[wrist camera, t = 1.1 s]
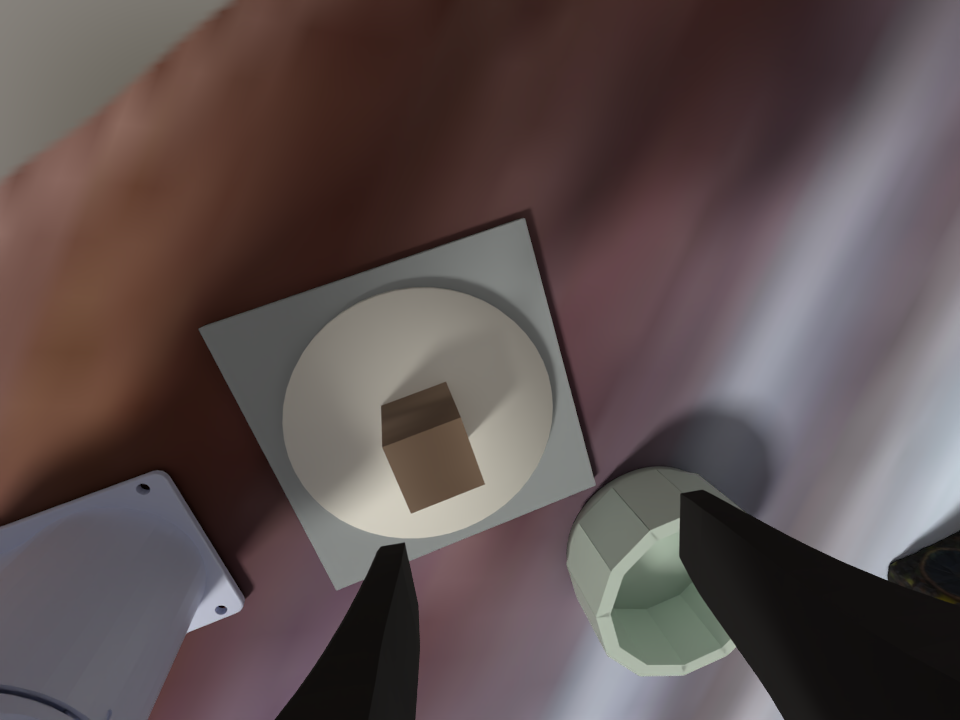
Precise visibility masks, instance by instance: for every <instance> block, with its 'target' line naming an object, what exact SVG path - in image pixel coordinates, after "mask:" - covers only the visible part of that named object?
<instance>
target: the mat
mask: <svg viewBox="0 0 960 720" xmlns="http://www.w3.org/2000/svg"><path fill="white" fill-rule="evenodd" d="M409 287H437V288H445V289H451V290H455V291H459V292H463V293H467V294H469V295H471V296H474V297H476V298H479V299H481V300H483V301H485V302H487V303H489V304H490V305H492V306H494V307H496V308H497V309H499V310H500V311H501V312H503V313H504V314H505V315H506V316H508V317H509V318H510V319H512V320H513V321H514V322H515V323H516V324H517V325H518V326H519V327H520V328H521V329H522V330H523V331H524V332H525V333H526V334H527V336H528V337H529V338H530V340H531V341H532V343H533V344H534V345H535V347H536V348H537V350H538V352H539V354H540V356H541V358H542V360H543V362H544V365H545V367H546V370H547V373H548V376H549V380H550V385H551V390H552V401H553V413H552V424H551V429H550V434H549V439H548V441H547V444H546V447H545V450H544V453H543V455H542V457H541V459H540V461H539V463H538V465H537V467H536V469H535V470H534V472H533V473H532V475H531V477H530V478H529V480H528V481H527V482H526V483H525V485H524V486H523V487H522V488H521V489H520V491H519V492H518V493H517V494H516V495H515V496H514V497H513V498H512V499H511V500H510V501H508V502H507V503H506V504H505V505H504V506H502V507H501V508H500V509H498V510H497V511H496V512H495V513H493V514H491V515H490V516H488V517H486V518H485V519H483V520H481V521H479V522H477V523H475V524H473V525H471V526H469V527H467V528H464V529H461V530H458V531H455V532H452V533H449V534H444V535H440V536H435V537H427V538H394V537H386V536H381V535H377V534H373V533H369V532H366V531H364V530H361V529H358V528H356V527H353V526H351V525H349V524H347V523H345V522H344V521H342V520H340V519H338V518H337V517H335V516H334V515H332V514H331V513H330V512H328V511H327V510H325V509H324V508H323V507H322V506H321V505H320V504H319V503H318V502H317V501H316V500H315V499H314V498H313V497H312V496H311V495H310V494H309V492H308V491H307V490H306V489H305V488H304V486H303V485H302V483H301V481H300V480H299V478H298V477H297V475H296V473H295V471H294V469H293V467H292V464H291V462H290V460H289V457H288V454H287V450H286V446H285V442H284V435H283V425H282V419H283V404H284V399H285V394H286V389H287V386H288V383H289V381H290V378H291V375H292V372H293V370H294V368H295V366H296V364H297V363H298V361H299V359H300V357H301V355H302V353H303V351H304V350H305V349H306V347H307V346H308V345H309V343H310V342H311V340H312V339H313V338H314V336H315V335H316V334H317V333H318V332H319V331H320V330H321V329H322V328H323V327H324V326H325V325H326V324H327V323H328V322H329V321H331V320H332V319H333V318H335V317H336V316H337V315H338V314H340V313H341V312H342V311H344V310H346V309H347V308H349V307H351V306H352V305H354V304H356V303H358V302H360V301H362V300H364V299H367V298H369V297H371V296H374V295H376V294H380V293H384V292H387V291H391V290H395V289H402V288H409ZM199 331H200V333H201V335H202V337H203V339H204V341H205V343H206V345H207V346H208V348H209V350H210V352H211V354H212V356H213V358H214V360H215V362H216V363H217V365H218V367H219V369H220V371H221V373H222V375H223V377H224V379H225V380H226V382H227V384H228V386H229V388H230V390H231V392H232V394H233V396H234V398H235V399H236V401H237V403H238V405H239V407H240V409H241V411H242V413H243V415H244V416H245V418H246V420H247V422H248V424H249V426H250V428H251V430H252V432H253V433H254V435H255V437H256V439H257V441H258V443H259V445H260V447H261V449H262V451H263V452H264V454H265V456H266V458H267V460H268V462H269V464H270V466H271V468H272V469H273V471H274V473H275V475H276V477H277V479H278V481H279V483H280V485H281V486H282V488H283V490H284V492H285V494H286V496H287V498H288V500H289V502H290V503H291V505H292V507H293V509H294V511H295V513H296V515H297V517H298V519H299V521H300V522H301V524H302V526H303V528H304V530H305V532H306V534H307V536H308V538H309V539H310V541H311V543H312V545H313V547H314V549H315V551H316V553H317V555H318V556H319V558H320V560H321V562H322V564H323V566H324V568H325V570H326V572H327V574H328V575H329V577H330V579H331V581H332V583H333V585H334V587H335V589H336V591H337V590H339V589H342V588H344V587H346V586H349V585H351V584H354V583H356V582H359V581H361V580H364V579H365V577H366V575H367V573H368V571H369V568H370V566H371V564H372V562H373V560H374V557H375V555H376V552H377V551H378V549H379V548H380V547H381V546H386V545H392V544H398V543H403V542H405V545H406V550H407V554H408V559H409V561H411V560H413V559H415V558H418V557H420V556H423V555H425V554H428V553H430V552H433V551H435V550H438V549H440V548H443V547H445V546H447V545H450V544H452V543H455V542H457V541H460V540H462V539H465V538H467V537H470V536H472V535H475V534H477V533H479V532H482V531H484V530H487V529H489V528H492V527H494V526H497V525H499V524H502V523H504V522H507V521H509V520H512V519H514V518H516V517H519V516H521V515H524V514H526V513H529V512H531V511H534V510H536V509H539V508H541V507H544V506H546V505H548V504H551V503H553V502H556V501H558V500H561V499H563V498H566V497H568V496H571V495H573V494H576V493H578V492H580V491H583V490H585V489H588V488H590V487H593V486H595V485H596V484H595V481H594V477H593V473H592V469H591V466H590V462H589V458H588V454H587V450H586V447H585V443H584V439H583V435H582V432H581V428H580V424H579V420H578V417H577V413H576V409H575V405H574V402H573V398H572V394H571V390H570V386H569V383H568V379H567V375H566V371H565V368H564V364H563V360H562V356H561V353H560V349H559V345H558V341H557V337H556V334H555V330H554V326H553V322H552V319H551V315H550V311H549V307H548V304H547V300H546V296H545V292H544V289H543V285H542V281H541V277H540V273H539V270H538V266H537V262H536V258H535V255H534V251H533V247H532V243H531V240H530V236H529V232H528V228H527V225H526V221H525V218H520V219H517V220H514V221H511V222H508V223H505V224H502V225H499V226H497V227H494V228H491V229H488V230H485V231H482V232H479V233H476V234H473V235H470V236H467V237H464V238H461V239H458V240H455V241H452V242H449V243H446V244H443V245H441V246H438V247H435V248H432V249H429V250H426V251H423V252H420V253H417V254H414V255H411V256H408V257H405V258H402V259H399V260H396V261H393V262H390V263H387V264H385V265H382V266H379V267H376V268H373V269H370V270H367V271H364V272H361V273H358V274H355V275H352V276H349V277H346V278H343V279H340V280H337V281H334V282H332V283H329V284H326V285H323V286H320V287H317V288H314V289H311V290H308V291H305V292H302V293H299V294H296V295H293V296H290V297H287V298H284V299H281V300H278V301H276V302H273V303H270V304H267V305H264V306H261V307H258V308H255V309H252V310H249V311H246V312H243V313H240V314H237V315H234V316H231V317H228V318H225V319H222V320H220V321H217V322H214V323H211V324H208V325H205V326H202V327H201V328H199Z"/></svg>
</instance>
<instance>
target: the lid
mask: <svg viewBox="0 0 960 720" xmlns="http://www.w3.org/2000/svg"><path fill="white" fill-rule="evenodd" d="M552 413H553V401H552V390H551V385H550V380H549V376H548V373H547V370H546V367H545V365H544V362H543V360H542V358H541V356H540V354H539V352H538V350H537V348H536V347H535V345H534V344H533V343H532V341H531V340H530V338H529V337H528V336H527V334H526V333H525V332H524V331H523V330H522V329H521V328H520V327H519V326H518V325H517V324H516V323H515V322H514V321H513V320H512V319H510V318H509V317H508V316H506V315H505V314H504V313H503V312H501V311H500V310H499V309H497V308H496V307H494V306H492V305H490V304H489V303H487V302H485V301H483V300H481V299H479V298H476V297H474V296H471V295H469V294H467V293H463V292H459V291H455V290H451V289H445V288H437V287H409V288H402V289H395V290H391V291H387V292H384V293H380V294H376V295H374V296H371V297H369V298H367V299H364V300H362V301H360V302H358V303H356V304H354V305H352V306H351V307H349V308H347V309H346V310H344V311H342V312H341V313H340V314H338V315H337V316H336V317H335V318H333V319H332V320H331V321H329V322H328V323H327V324H326V325H325V326H324V327H323V328H322V329H321V330H320V331H319V332H318V333H317V334H316V335H315V336H314V338H313V339H312V340H311V342H310V343H309V345H308V346H307V347H306V349H305V350H304V351H303V353H302V355H301V357H300V359H299V361H298V363H297V364H296V366H295V368H294V370H293V372H292V375H291V378H290V381H289V383H288V386H287V389H286V394H285V399H284V404H283V419H282V425H283V435H284V442H285V446H286V450H287V454H288V457H289V460H290V462H291V464H292V467H293V469H294V471H295V473H296V475H297V477H298V478H299V480H300V481H301V483H302V485H303V486H304V488H305V489H306V490H307V491H308V492H309V494H310V495H311V496H312V497H313V498H314V499H315V500H316V501H317V502H318V503H319V504H320V505H321V506H322V507H323V508H324V509H325V510H327V511H328V512H330V513H331V514H332V515H334V516H335V517H337V518H338V519H340V520H342V521H344V522H345V523H347V524H349V525H351V526H353V527H356V528H358V529H361V530H364V531H366V532H369V533H373V534H377V535H381V536H386V537H394V538H427V537H435V536H440V535H444V534H449V533H452V532H455V531H458V530H461V529H464V528H467V527H469V526H471V525H473V524H475V523H477V522H479V521H481V520H483V519H485V518H486V517H488V516H490V515H491V514H493V513H495V512H496V511H497V510H498V509H500V508H501V507H502V506H504V505H505V504H506V503H507V502H508V501H510V500H511V499H512V498H513V497H514V496H515V495H516V494H517V493H518V492H519V491H520V489H521V488H522V487H523V486H524V485H525V483H526V482H527V481H528V480H529V478H530V477H531V475H532V473H533V472H534V470H535V469H536V467H537V465H538V463H539V461H540V459H541V457H542V455H543V453H544V450H545V447H546V444H547V441H548V439H549V434H550V429H551V424H552Z"/></svg>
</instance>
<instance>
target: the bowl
mask: <svg viewBox="0 0 960 720" xmlns="http://www.w3.org/2000/svg"><path fill="white" fill-rule="evenodd" d="M697 490H705V491H707V492H709V493H711V494H713V495H715V496H717V497H718V498H720V499H722V500H724V501H726V502H728V503H729V504H731V505H733V506H735V507H737V508H738V509H740V510H742V509H741V508H740V507H738V506H737V505H736V504H735V503H733V502H732V501H731V500H730V499H728V498H727V497H726V496H725V495H723V494H722V493H721V492H720V491H718V490H717V489H716V488H715V487H713V486H712V485H711V484H710V483H708V482H707V481H706V480H705V479H703V478H702V477H701V476H700V475H698V474H697V473H688V472H686V471H683V470H680V469H677V468H673V467H666V466H654V467H646V468H641V469H637V470H634V471H631V472H628V473H626V474H624V475H621V476H619V477H617V478H616V479H614V480H612V481H611V482H609V483H607V484H606V485H605V486H604V487H602V488H601V489H600V490H599V491H597V492H596V493H595V494H594V495H593V496H592V497H591V498H590V499H589V501H588V502H587V503H586V504H585V505H584V507H583V508H582V510H581V511H580V513H579V514H578V516H577V518H576V520H575V522H574V523H573V526H572V528H571V531H570V534H569V538H568V543H567V552H566V554H567V563H566V564H567V568H568V571H569V574H570V577H571V580H572V584H573V587H574V590H575V593H576V597H577V599H578V601H579V603H580V605H581V607H582V609H583V611H584V613H585V614H586V616H587V618H588V620H589V622H590V624H591V626H592V628H593V630H594V631H595V633H596V635H597V637H598V639H599V641H600V643H601V645H602V646H603V648H604V650H605V652H606V654H607V656H608V657H610V658H612V659H613V660H615V661H616V662H618V663H619V664H621V665H623V666H624V667H626V668H627V669H629V670H631V671H632V672H634V673H635V674H637V675H638V676H683V675H686V674H688V673H690V672H692V671H695V670H697V669H699V668H701V667H703V666H706V665H708V664H710V663H712V662H714V661H716V660H719V659H721V658H723V657H725V656H727V655H728V654H729V653H730V652H731V651H732V650H733V649H734V648H735V647H736V646H735V644H734V643H733V641H732V640H731V639H730V637H729V636H728V634H727V633H726V632H725V630H724V629H723V627H722V626H721V625H720V623H719V622H718V620H717V619H716V617H715V616H714V615H713V613H712V612H711V610H710V609H709V607H708V606H707V605H706V603H705V602H704V600H703V599H702V597H701V596H700V594H699V593H698V591H697V589H696V587H695V586H694V584H693V582H692V580H691V579H690V577H689V575H688V573H687V571H686V569H685V567H684V565H683V563H682V561H681V559H680V558H679V533H680V493H686V492H691V491H697ZM742 511H743V510H742ZM744 512H745V511H744Z"/></svg>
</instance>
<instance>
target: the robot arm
mask: <svg viewBox="0 0 960 720" xmlns="http://www.w3.org/2000/svg"><path fill="white" fill-rule="evenodd" d="M140 484H146V485H148V486H149V487H150V490H145V489H143V488H142V487H141V485H140ZM679 558H680V559H681V561H682V563H683V565H684V567H685V569H686V571H687V573H688V575H689V577H690V579H691V580H692V582H693V584H694V586H695V587H696V589H697V591H698V593H699V594H700V596H701V597H702V599H703V600H704V602H705V603H706V605H707V606H708V607H709V609H710V610H711V612H712V613H713V615H714V616H715V617H716V619H717V620H718V622H719V623H720V625H721V626H722V627H723V629H724V630H725V632H726V633H727V634H728V636H729V637H730V639H731V640H732V641H733V643H734V644H735V646H736V647H737V648H738V650H739V651H740V653H741V654H742V655H743V657H744V658H745V660H746V661H747V663H748V664H749V665H750V667H751V668H752V670H753V671H754V672H755V674H756V675H757V677H758V678H759V680H760V681H761V683H762V684H763V686H764V687H765V689H766V690H767V692H768V693H769V695H770V696H771V698H772V700H773V701H774V703H775V705H776V706H777V708H778V710H779V712H780V713H781V715H782V717H783V718H784V720H960V606H959V605H956V604H952V603H949V602H946V601H943V600H940V599H937V598H934V597H932V596H929V595H926V594H923V593H920V592H917V591H914V590H912V589H909V588H906V587H903V586H901V585H898V584H895V583H893V582H890V581H887V580H885V579H882V578H880V577H877V576H875V575H873V574H870V573H868V572H865V571H863V570H861V569H858V568H856V567H853V566H851V565H849V564H846V563H844V562H842V561H840V560H837V559H835V558H833V557H831V556H829V555H827V554H825V553H822V552H820V551H818V550H816V549H814V548H812V547H810V546H808V545H806V544H804V543H802V542H800V541H798V540H796V539H794V538H792V537H790V536H788V535H786V534H784V533H782V532H780V531H779V530H777V529H775V528H773V527H771V526H769V525H767V524H766V523H764V522H762V521H760V520H758V519H756V518H755V517H753V516H751V515H749V514H747V513H746V512H744V511H742V510H740V509H738V508H737V507H735V506H733V505H731V504H729V503H728V502H726V501H724V500H722V499H720V498H718V497H717V496H715V495H713V494H711V493H709V492H707V491H705V490H697V491H691V492H686V493H680V533H679ZM244 602H245V598H244V596H243V594H242V592H241V591H240V589H239V587H238V586H237V584H236V583H235V581H234V579H233V578H232V576H231V575H230V573H229V571H228V570H227V568H226V566H225V565H224V563H223V562H222V560H221V558H220V557H219V555H218V553H217V552H216V550H215V549H214V547H213V545H212V544H211V542H210V540H209V539H208V537H207V536H206V534H205V532H204V531H203V529H202V527H201V526H200V524H199V523H198V521H197V519H196V518H195V516H194V514H193V513H192V511H191V510H190V508H189V506H188V505H187V503H186V502H185V500H184V498H183V497H182V495H181V493H180V492H179V490H178V489H177V487H176V485H175V484H174V482H173V480H172V479H171V477H170V476H169V475H168V474H167V473H166V472H164V471H160V470H156V471H151V472H149V473H146V474H143V475H140V476H138V477H135V478H132V479H129V480H127V481H124V482H121V483H119V484H116V485H113V486H110V487H108V488H105V489H102V490H99V491H97V492H94V493H91V494H88V495H86V496H83V497H80V498H78V499H75V500H72V501H69V502H67V503H64V504H61V505H58V506H56V507H53V508H50V509H47V510H45V511H42V512H39V513H37V514H34V515H31V516H28V517H26V518H23V519H20V520H17V521H15V522H12V523H9V524H6V525H4V526H1V527H0V720H148V717H149V715H150V713H151V711H152V708H153V706H154V704H155V702H156V699H157V697H158V695H159V693H160V691H161V688H162V686H163V684H164V682H165V679H166V677H167V675H168V673H169V671H170V668H171V666H172V664H173V662H174V659H175V657H176V655H177V653H178V650H179V648H180V646H181V644H182V642H183V639H184V637H185V635H186V633H188V632H190V631H193V630H195V629H198V628H200V627H203V626H205V625H208V624H210V623H213V622H215V621H218V620H220V619H223V618H225V617H228V616H230V615H233V614H235V613H237V612H239V611H240V610H241V609H242V608H243V605H244ZM221 605H222V606H225V607H226V608H220V607H219V606H221ZM419 654H420V635H419V610H418V602H417V597H416V592H415V587H414V583H413V578H412V573H411V568H410V564H409V559H408V554H407V550H406V545H405V542H403V543H398V544H392V545H386V546H381V547H380V548H379V549H378V551H377V552H376V555H375V557H374V560H373V562H372V564H371V566H370V568H369V571H368V573H367V575H366V577H365V579H364V581H363V583H362V585H361V587H360V589H359V591H358V593H357V595H356V597H355V599H354V601H353V602H352V604H351V606H350V608H349V610H348V612H347V614H346V616H345V617H344V619H343V621H342V623H341V624H340V626H339V628H338V629H337V631H336V633H335V634H334V636H333V637H332V639H331V641H330V642H329V644H328V646H327V647H326V649H325V651H324V652H323V654H322V655H321V657H320V658H319V660H318V661H317V663H316V664H315V666H314V667H313V669H312V670H311V672H310V673H309V675H308V676H307V677H306V679H305V680H304V682H303V683H302V684H301V686H300V687H299V689H298V690H297V691H296V693H295V694H294V695H293V697H292V698H291V699H290V701H289V702H288V703H287V704H286V706H285V707H284V708H283V710H282V711H281V712H280V713H279V715H278V716H277V717H276V719H275V720H415V716H416V701H417V686H418V670H419Z"/></svg>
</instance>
